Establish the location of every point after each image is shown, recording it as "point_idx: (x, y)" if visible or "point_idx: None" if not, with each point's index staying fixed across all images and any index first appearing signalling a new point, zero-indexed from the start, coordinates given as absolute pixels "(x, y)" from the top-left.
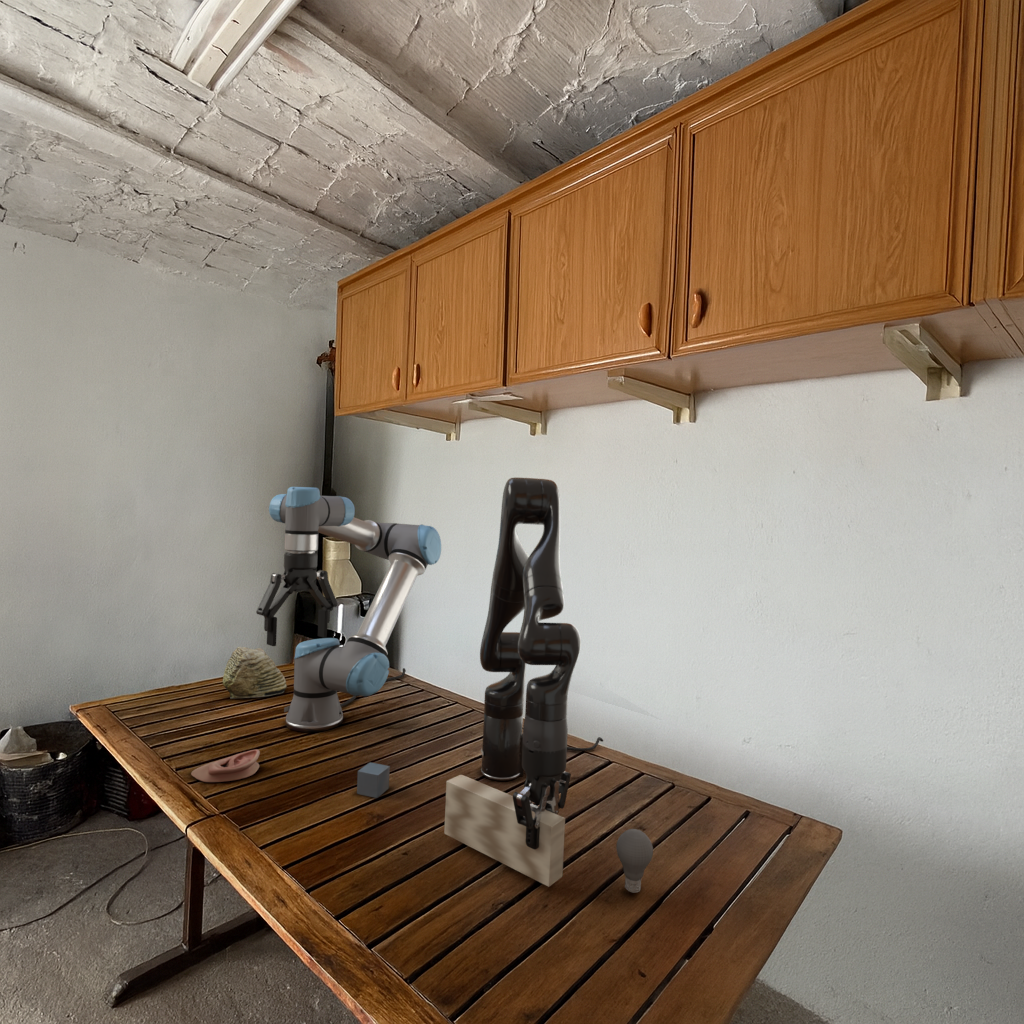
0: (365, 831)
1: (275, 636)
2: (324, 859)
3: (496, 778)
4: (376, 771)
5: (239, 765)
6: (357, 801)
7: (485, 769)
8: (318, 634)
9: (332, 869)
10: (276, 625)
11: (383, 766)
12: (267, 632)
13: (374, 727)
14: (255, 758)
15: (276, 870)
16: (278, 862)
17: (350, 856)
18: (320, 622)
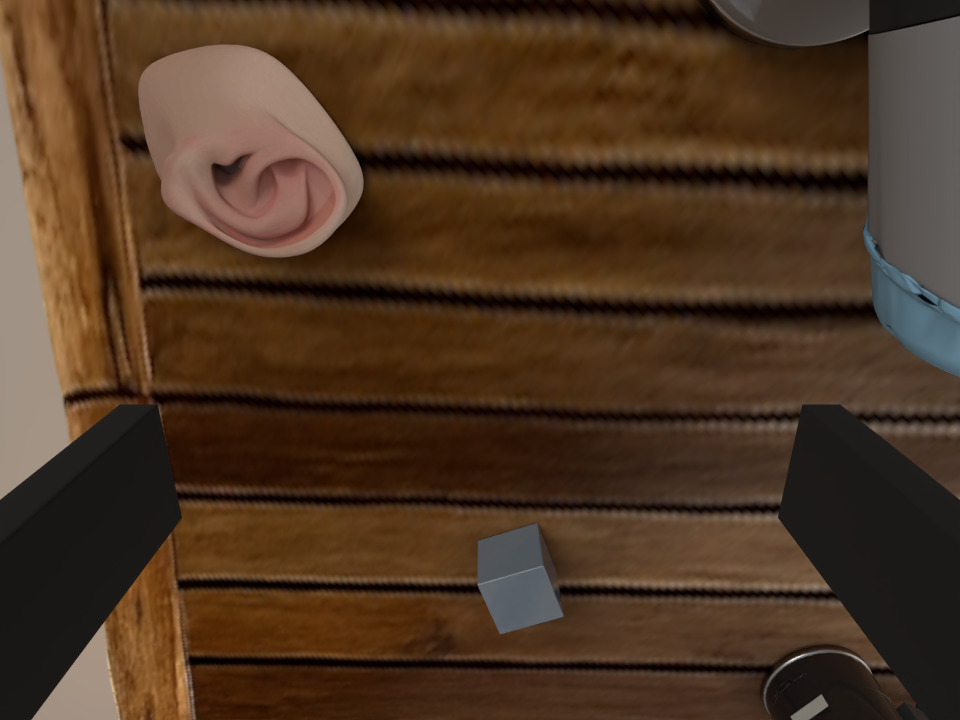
0: (383, 665)
1: (115, 590)
2: (264, 684)
3: (765, 707)
4: (512, 617)
5: (258, 232)
6: (454, 567)
7: (774, 694)
8: (809, 430)
9: (260, 713)
10: (30, 713)
11: (549, 608)
12: (28, 487)
13: None
14: (312, 246)
15: (175, 658)
16: (188, 642)
17: (308, 705)
18: (904, 560)
